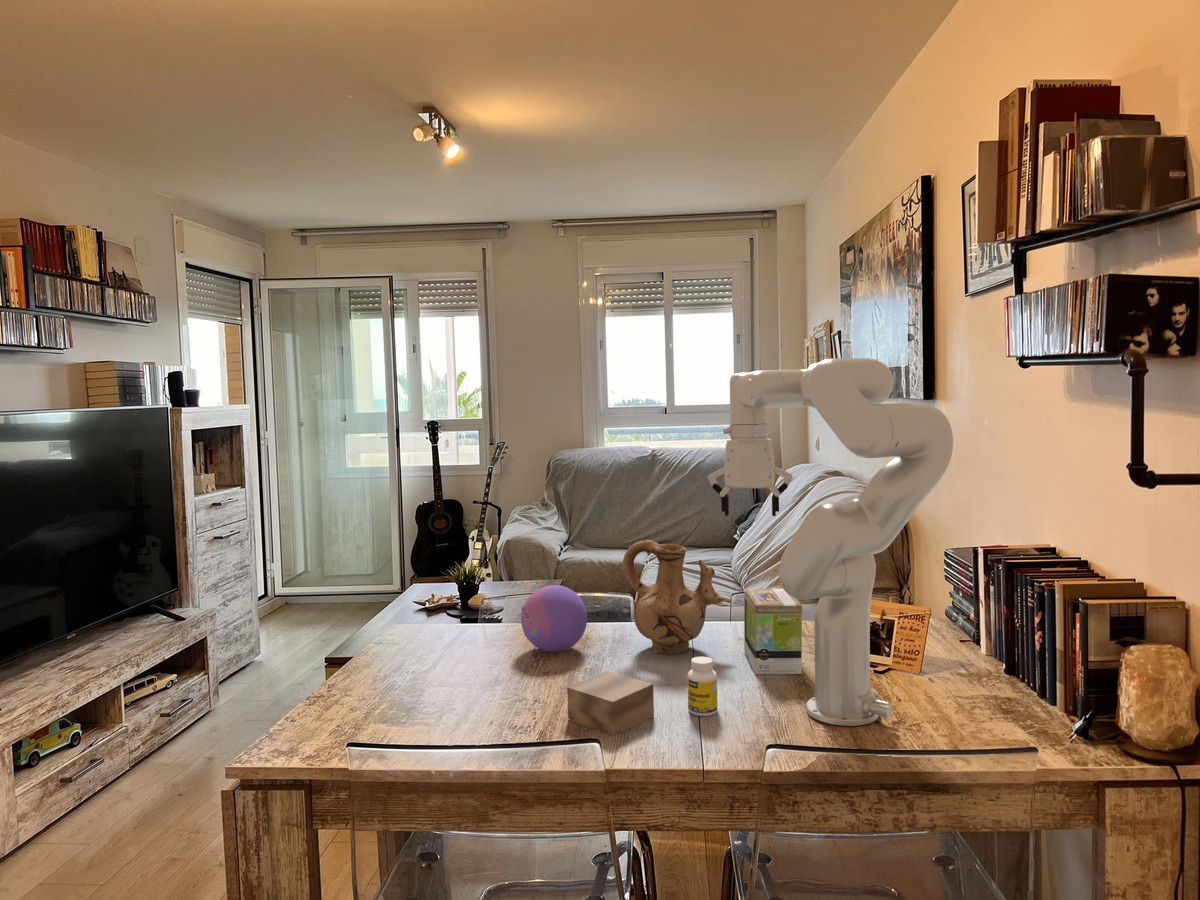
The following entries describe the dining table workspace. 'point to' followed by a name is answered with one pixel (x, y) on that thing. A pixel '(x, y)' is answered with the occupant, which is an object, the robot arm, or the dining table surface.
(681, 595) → the ceramic vessel
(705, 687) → the supplement bottle
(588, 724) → the walnut block
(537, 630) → the decorative ball
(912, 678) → the dining table surface
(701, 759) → the dining table surface
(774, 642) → the tea box
